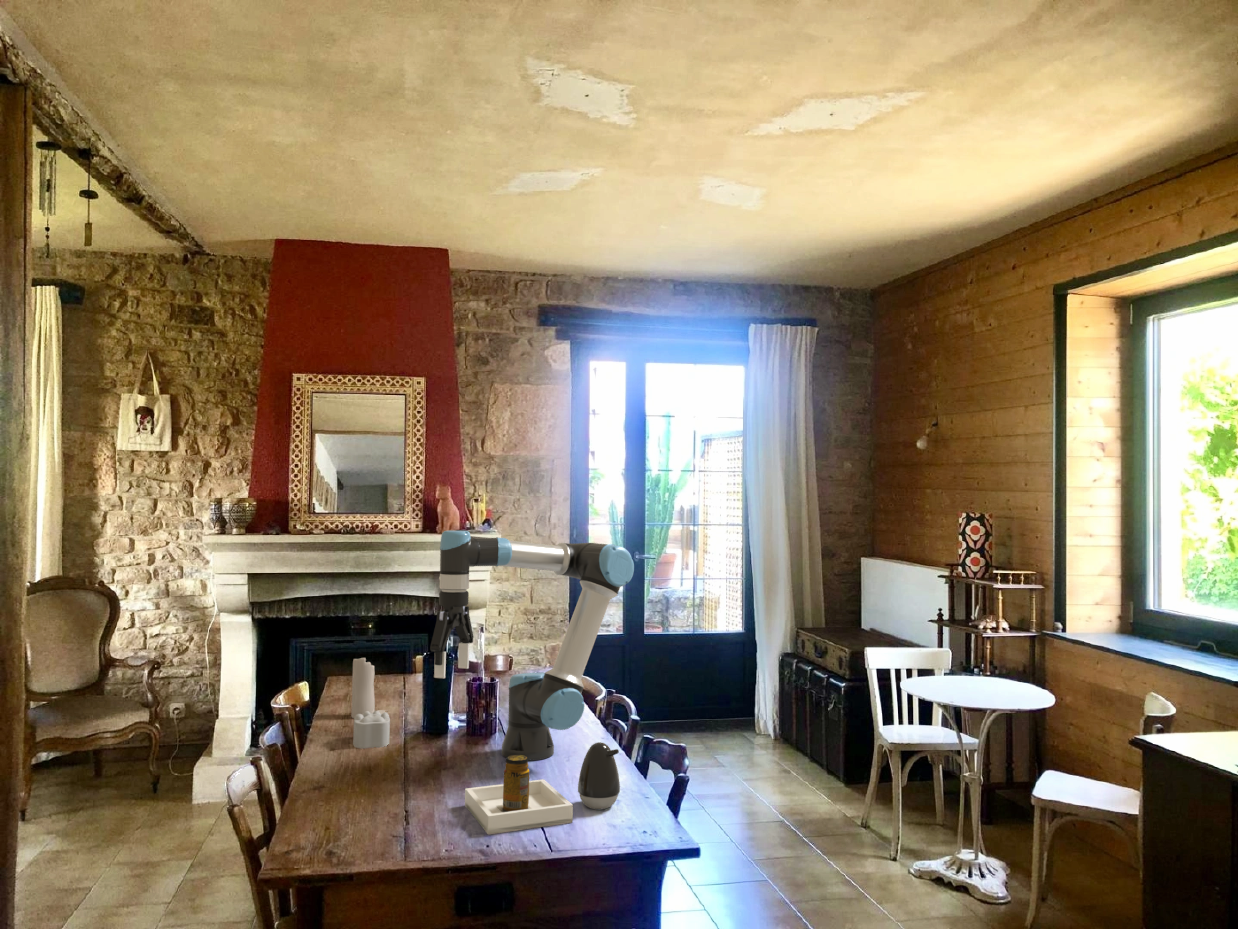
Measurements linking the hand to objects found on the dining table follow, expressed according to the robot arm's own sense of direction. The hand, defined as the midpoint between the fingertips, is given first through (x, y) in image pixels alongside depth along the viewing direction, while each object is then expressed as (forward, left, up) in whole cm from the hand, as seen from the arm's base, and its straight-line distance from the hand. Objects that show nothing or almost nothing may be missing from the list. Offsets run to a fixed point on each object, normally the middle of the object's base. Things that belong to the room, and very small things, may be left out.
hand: (451, 673), depth 231 cm
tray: (-10, +26, -29) cm, 40 cm away
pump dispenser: (-30, +28, -29) cm, 50 cm away
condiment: (-10, +26, -28) cm, 40 cm away
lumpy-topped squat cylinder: (+12, -48, -29) cm, 57 cm away
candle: (+7, -82, -29) cm, 87 cm away
